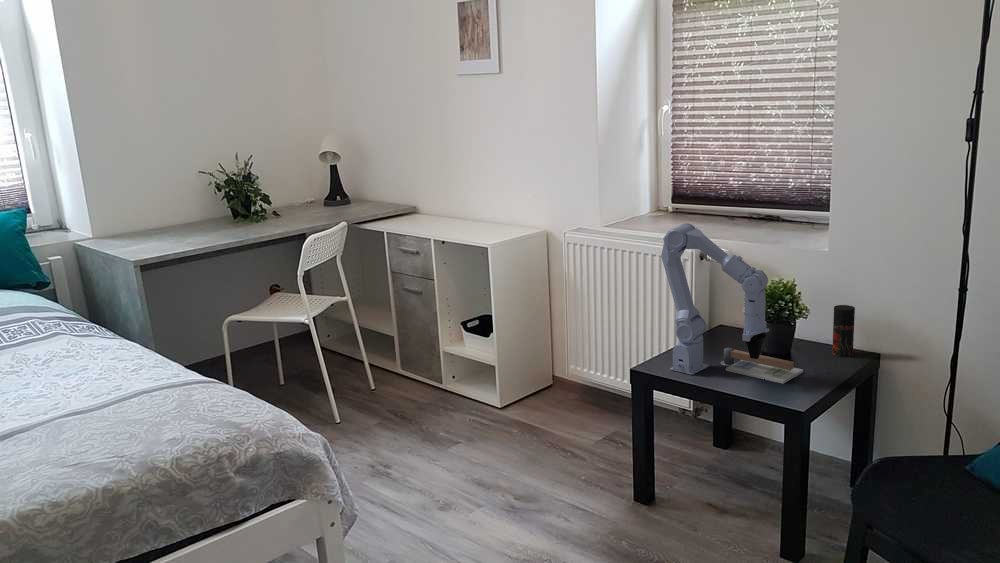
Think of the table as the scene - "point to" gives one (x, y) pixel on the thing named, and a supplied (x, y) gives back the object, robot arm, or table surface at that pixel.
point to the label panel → (762, 371)
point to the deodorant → (843, 330)
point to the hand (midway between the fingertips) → (754, 358)
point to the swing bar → (774, 362)
